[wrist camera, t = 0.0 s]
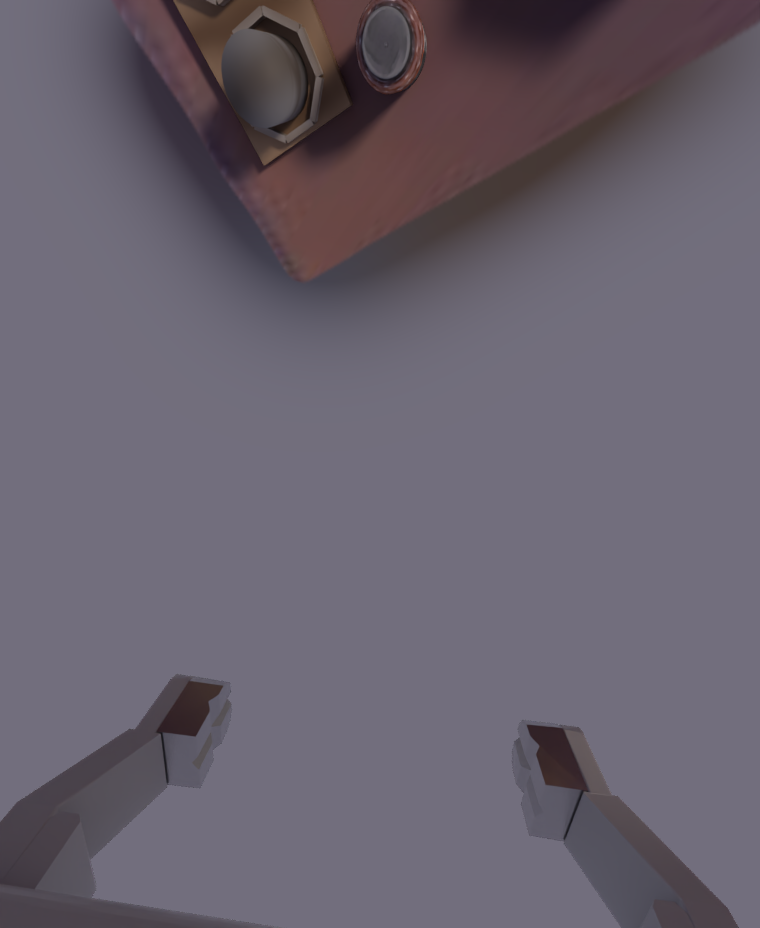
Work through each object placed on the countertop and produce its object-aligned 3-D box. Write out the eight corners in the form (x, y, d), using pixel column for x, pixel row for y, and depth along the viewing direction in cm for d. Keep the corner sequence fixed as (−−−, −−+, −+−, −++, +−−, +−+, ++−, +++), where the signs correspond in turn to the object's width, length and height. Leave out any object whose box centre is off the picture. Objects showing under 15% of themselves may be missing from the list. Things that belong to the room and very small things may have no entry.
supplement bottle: (435, 16, 36) (434, 1, 28) (416, 100, 40) (411, 106, 33) (375, -7, 36) (358, -29, 28) (362, 80, 40) (344, 83, 32)
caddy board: (118, -112, 33) (49, -152, 27) (218, -244, 28) (161, -326, 22) (267, 163, 46) (243, 177, 40) (352, 104, 41) (339, 110, 35)
